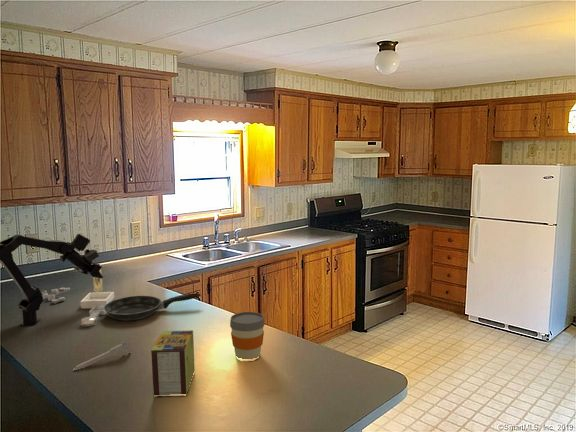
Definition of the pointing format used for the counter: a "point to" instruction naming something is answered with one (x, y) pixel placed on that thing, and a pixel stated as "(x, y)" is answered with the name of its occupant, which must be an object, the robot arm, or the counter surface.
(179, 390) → the protein box
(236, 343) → the reusable coffee cup
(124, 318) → the frying pan
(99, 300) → the parts tray
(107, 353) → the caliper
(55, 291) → the pulley system
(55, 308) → the counter surface
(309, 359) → the counter surface
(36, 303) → the robot arm
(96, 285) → the pin
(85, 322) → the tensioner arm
